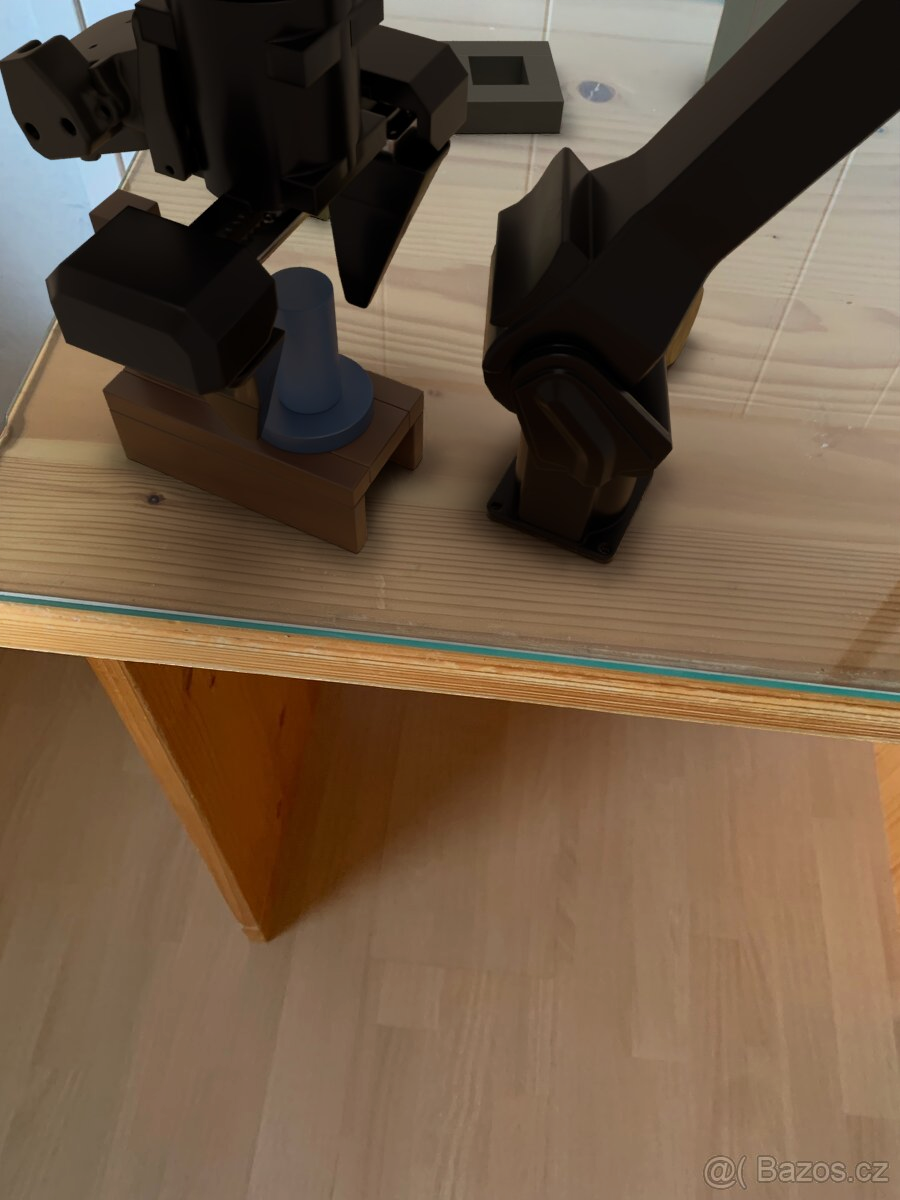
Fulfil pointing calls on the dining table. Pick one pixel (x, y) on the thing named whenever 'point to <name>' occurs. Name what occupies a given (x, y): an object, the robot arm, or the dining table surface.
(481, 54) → the block
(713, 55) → the bottle
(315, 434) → the peg
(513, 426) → the dining table surface
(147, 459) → the stand
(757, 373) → the dining table surface
